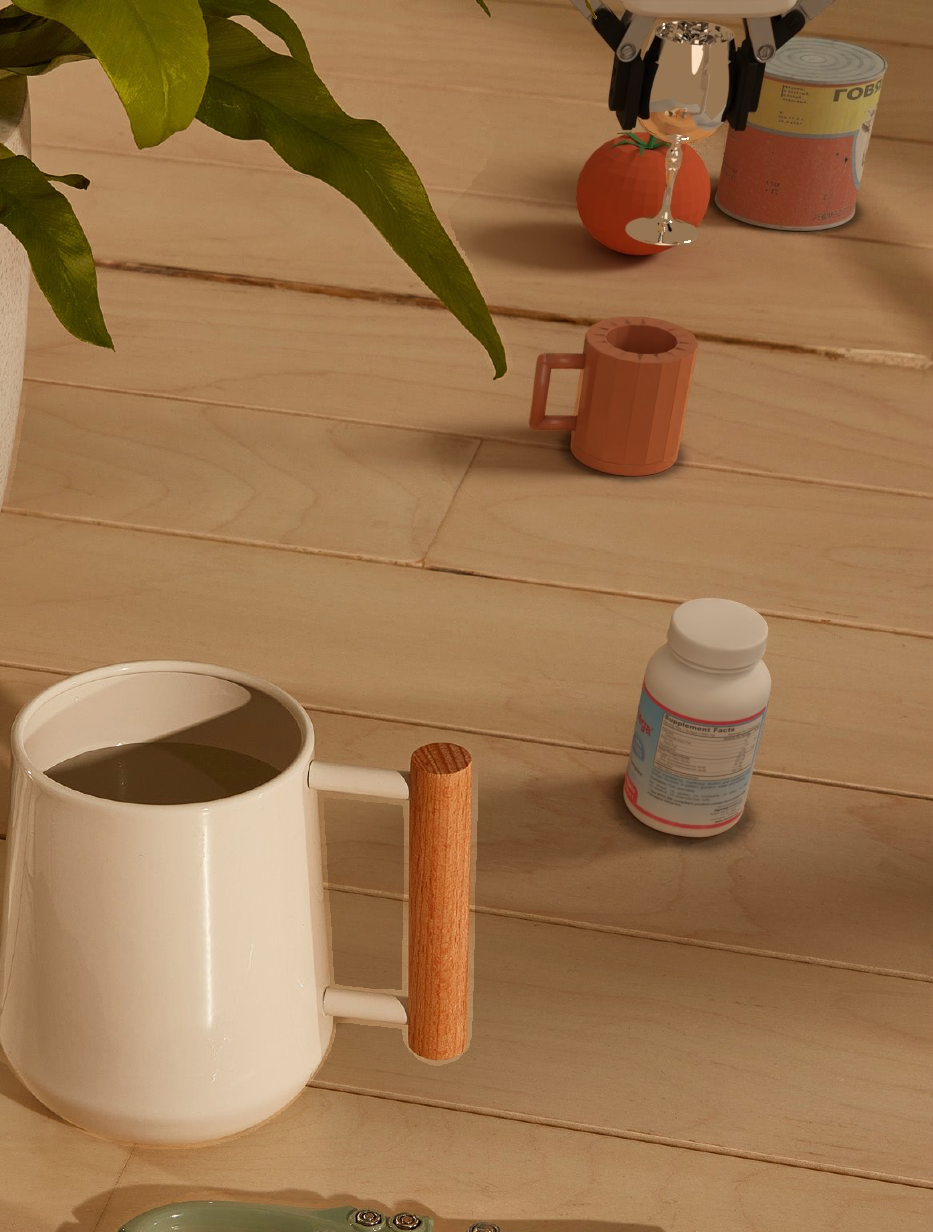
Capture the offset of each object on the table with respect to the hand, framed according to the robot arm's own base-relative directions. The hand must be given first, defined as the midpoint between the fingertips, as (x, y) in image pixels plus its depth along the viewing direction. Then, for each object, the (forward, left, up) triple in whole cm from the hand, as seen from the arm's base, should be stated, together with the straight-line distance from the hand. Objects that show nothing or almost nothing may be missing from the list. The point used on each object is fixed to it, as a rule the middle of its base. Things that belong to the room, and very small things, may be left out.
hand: (679, 120), depth 122 cm
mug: (+2, -1, -22) cm, 22 cm away
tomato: (-6, -34, -22) cm, 42 cm away
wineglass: (0, 0, -7) cm, 7 cm away
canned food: (-20, -44, -22) cm, 54 cm away
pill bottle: (+3, +39, -22) cm, 45 cm away
